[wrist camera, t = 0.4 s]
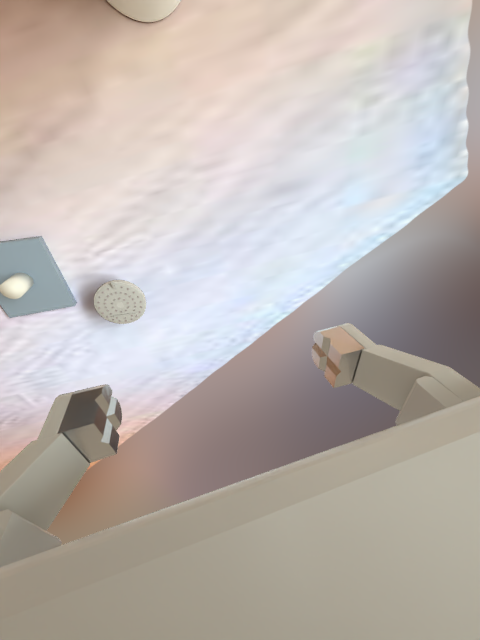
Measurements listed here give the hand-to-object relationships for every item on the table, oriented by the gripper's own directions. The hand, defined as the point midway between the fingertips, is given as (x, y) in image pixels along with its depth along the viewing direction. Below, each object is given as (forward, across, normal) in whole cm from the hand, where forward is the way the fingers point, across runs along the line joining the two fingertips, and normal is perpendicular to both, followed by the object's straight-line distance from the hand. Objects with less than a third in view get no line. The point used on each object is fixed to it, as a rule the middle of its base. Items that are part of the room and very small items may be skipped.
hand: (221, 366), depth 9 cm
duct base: (+46, +30, +10) cm, 56 cm away
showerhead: (+46, +14, +16) cm, 51 cm away
